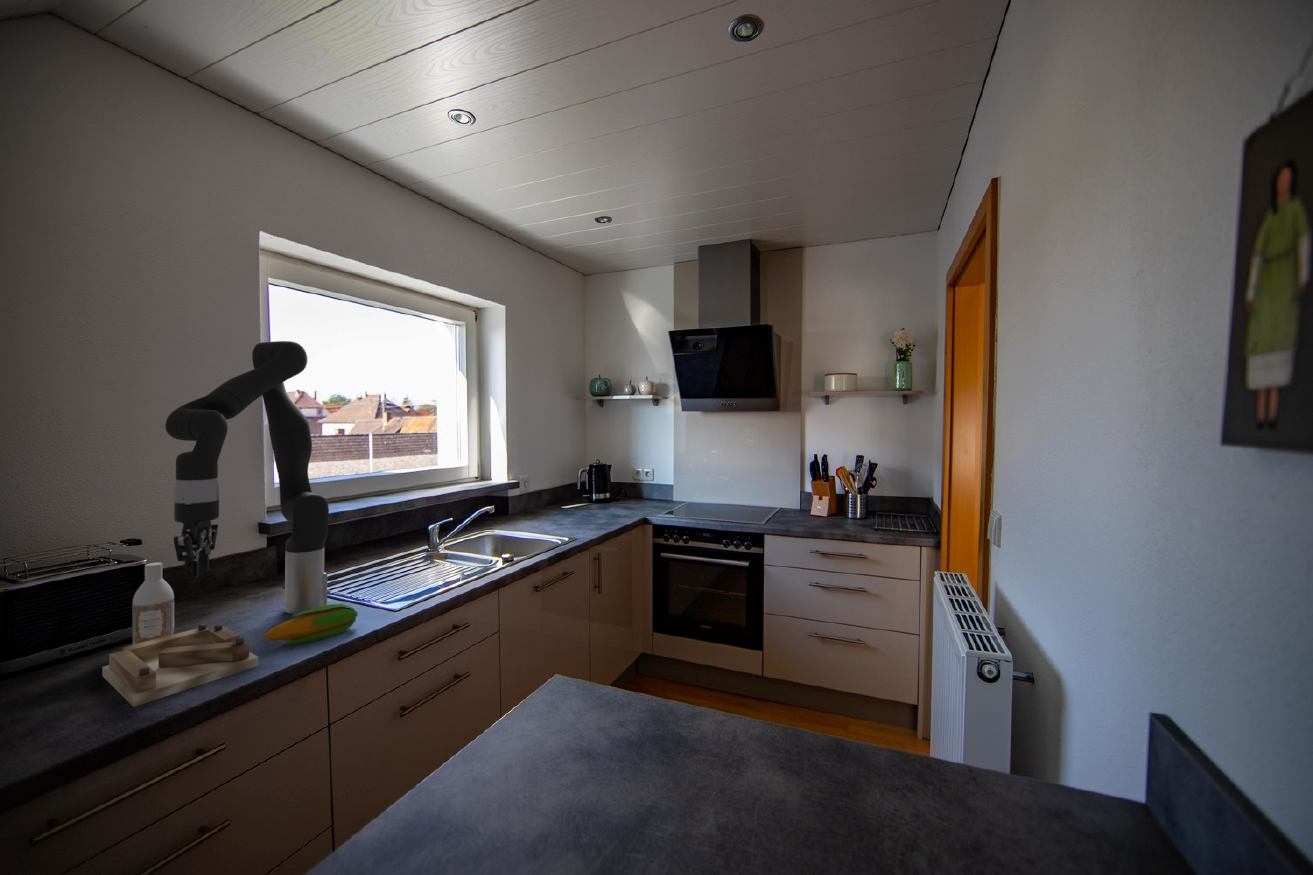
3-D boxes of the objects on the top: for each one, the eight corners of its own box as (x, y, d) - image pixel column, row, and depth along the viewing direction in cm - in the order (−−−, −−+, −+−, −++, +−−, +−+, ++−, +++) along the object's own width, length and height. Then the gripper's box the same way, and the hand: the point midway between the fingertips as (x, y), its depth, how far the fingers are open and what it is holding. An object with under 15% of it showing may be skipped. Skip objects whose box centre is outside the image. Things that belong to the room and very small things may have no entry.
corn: (362, 602, 135) (268, 623, 120) (362, 631, 135) (268, 656, 120) (351, 596, 140) (260, 616, 125) (352, 625, 140) (260, 648, 125)
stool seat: (220, 642, 126) (221, 618, 126) (258, 665, 115) (258, 639, 115) (102, 676, 109) (102, 647, 109) (133, 706, 98) (133, 675, 98)
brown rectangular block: (251, 653, 116) (251, 634, 116) (245, 659, 113) (245, 640, 113) (166, 660, 112) (166, 641, 112) (158, 667, 109) (158, 648, 108)
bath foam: (128, 658, 117) (128, 569, 116) (137, 646, 122) (137, 562, 122) (170, 651, 120) (170, 566, 120) (176, 640, 126) (176, 558, 125)
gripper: (193, 494, 122) (193, 566, 122) (157, 504, 108) (157, 586, 109) (232, 493, 124) (231, 565, 125) (201, 503, 110) (201, 583, 111)
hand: (196, 574), depth 117 cm, fingers open, 4 cm apart
